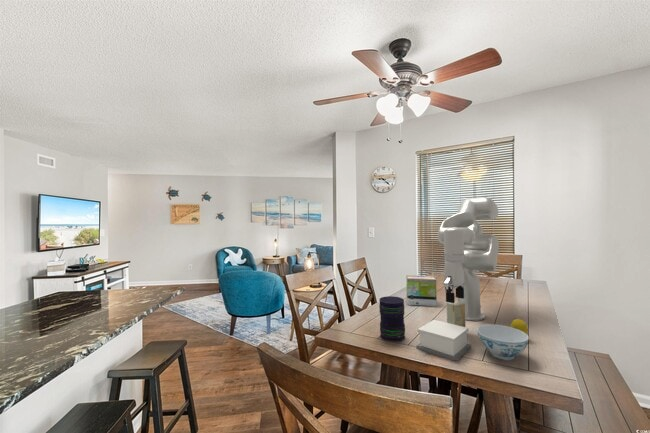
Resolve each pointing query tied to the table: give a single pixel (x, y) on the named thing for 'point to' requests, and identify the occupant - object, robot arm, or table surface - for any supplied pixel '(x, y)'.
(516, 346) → the chinaware
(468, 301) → the robot arm
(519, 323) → the lemon
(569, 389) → the table surface
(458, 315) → the skincare box
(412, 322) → the table surface
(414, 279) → the tea box
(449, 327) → the display podium
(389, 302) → the dark blue barrel
